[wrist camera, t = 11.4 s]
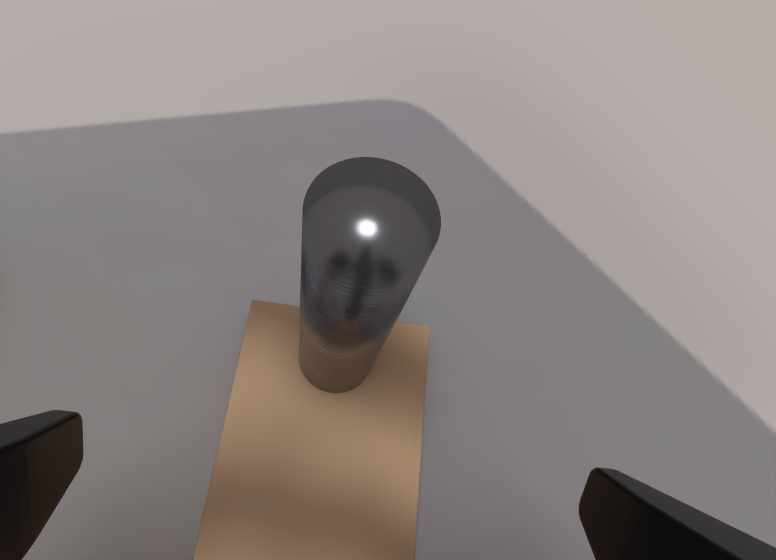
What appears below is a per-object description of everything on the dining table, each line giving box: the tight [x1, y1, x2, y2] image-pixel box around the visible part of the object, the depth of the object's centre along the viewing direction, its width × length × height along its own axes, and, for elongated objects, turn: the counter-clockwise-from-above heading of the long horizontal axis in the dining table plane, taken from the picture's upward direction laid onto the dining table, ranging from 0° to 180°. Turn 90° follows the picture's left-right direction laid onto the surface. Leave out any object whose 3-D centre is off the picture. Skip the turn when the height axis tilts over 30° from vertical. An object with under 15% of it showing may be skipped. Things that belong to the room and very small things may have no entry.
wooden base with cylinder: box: [193, 157, 441, 560], centre depth 15 cm, size 18×8×13 cm, turn 175°
